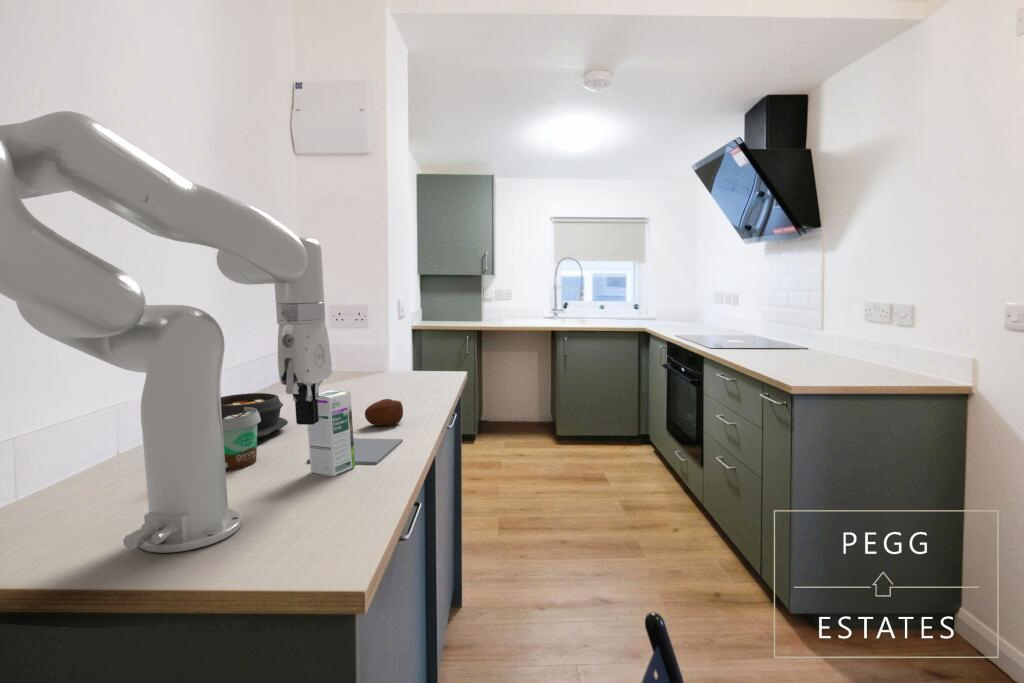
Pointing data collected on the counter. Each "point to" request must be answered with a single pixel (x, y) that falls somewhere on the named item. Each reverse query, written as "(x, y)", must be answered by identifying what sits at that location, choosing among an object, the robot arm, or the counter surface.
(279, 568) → the counter surface
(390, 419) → the potato
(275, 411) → the casserole
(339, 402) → the syrup box
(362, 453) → the mat
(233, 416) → the food container
